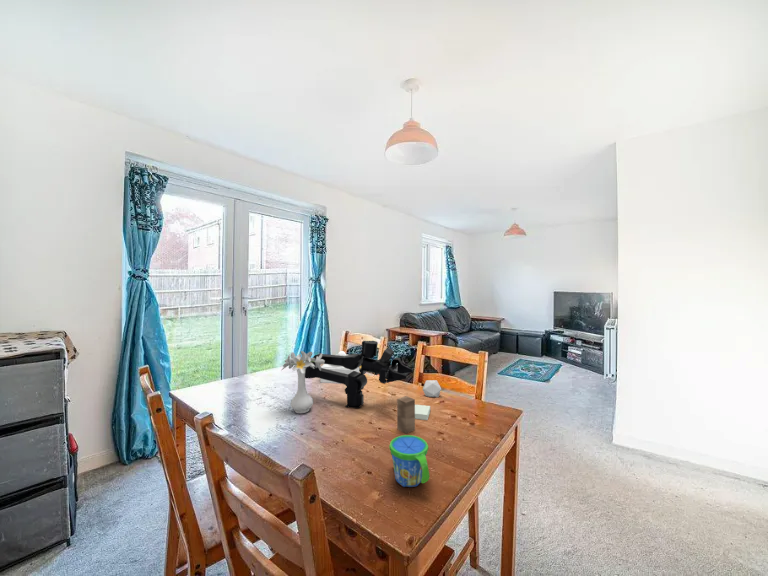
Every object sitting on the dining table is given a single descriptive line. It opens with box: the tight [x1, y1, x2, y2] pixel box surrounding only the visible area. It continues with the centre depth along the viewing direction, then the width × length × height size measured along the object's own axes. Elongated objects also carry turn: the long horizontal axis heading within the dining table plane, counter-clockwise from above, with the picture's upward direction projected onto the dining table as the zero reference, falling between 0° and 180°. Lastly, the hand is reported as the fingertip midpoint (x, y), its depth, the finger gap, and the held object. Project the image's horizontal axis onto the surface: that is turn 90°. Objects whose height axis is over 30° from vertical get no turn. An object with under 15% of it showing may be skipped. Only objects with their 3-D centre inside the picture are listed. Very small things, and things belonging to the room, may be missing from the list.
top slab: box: [415, 404, 431, 421], centre depth 128 cm, size 9×9×2 cm
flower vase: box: [281, 350, 325, 414], centre depth 135 cm, size 13×18×25 cm
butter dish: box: [319, 350, 360, 385], centre depth 178 cm, size 18×18×16 cm
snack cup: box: [388, 434, 430, 488], centre depth 88 cm, size 16×10×10 cm
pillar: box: [396, 395, 416, 435], centre depth 115 cm, size 4×4×12 cm
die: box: [422, 379, 442, 398], centre depth 149 cm, size 8×9×10 cm
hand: (409, 373), depth 131 cm, fingers open, 9 cm apart
